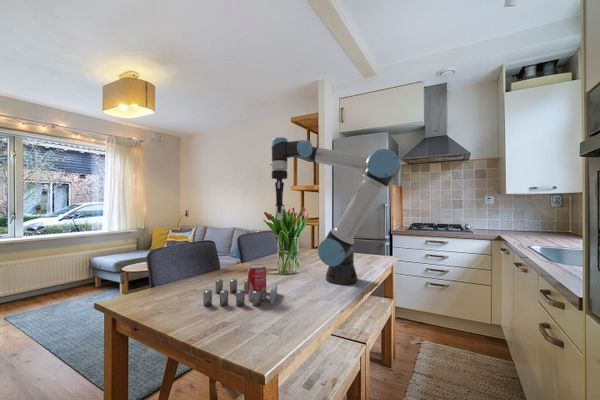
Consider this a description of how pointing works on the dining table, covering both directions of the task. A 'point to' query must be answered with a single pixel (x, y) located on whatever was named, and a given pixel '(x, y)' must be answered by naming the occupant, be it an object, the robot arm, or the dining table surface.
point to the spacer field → (233, 289)
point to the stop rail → (273, 293)
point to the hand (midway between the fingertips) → (279, 219)
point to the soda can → (257, 280)
